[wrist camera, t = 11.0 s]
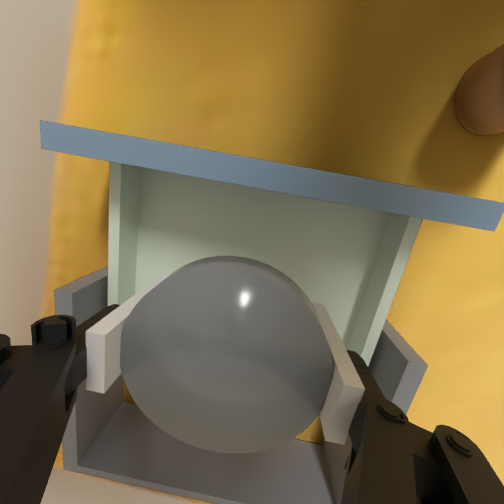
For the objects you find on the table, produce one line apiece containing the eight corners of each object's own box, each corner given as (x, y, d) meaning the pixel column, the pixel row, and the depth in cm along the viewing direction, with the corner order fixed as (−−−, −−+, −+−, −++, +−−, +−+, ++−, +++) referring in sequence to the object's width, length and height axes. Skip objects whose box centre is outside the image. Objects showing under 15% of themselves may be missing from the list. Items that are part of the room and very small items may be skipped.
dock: (114, 262, 21) (54, 289, 15) (382, 315, 20) (428, 365, 14) (111, 405, 25) (63, 469, 19) (332, 453, 24) (351, 534, 18)
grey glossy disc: (149, 238, 11) (122, 249, 9) (344, 276, 10) (360, 295, 8) (139, 394, 13) (116, 430, 11) (298, 429, 13) (303, 471, 11)
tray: (114, 143, 18) (39, 120, 12) (427, 199, 17) (507, 203, 11) (111, 332, 22) (55, 382, 16) (359, 384, 22) (392, 454, 16)
